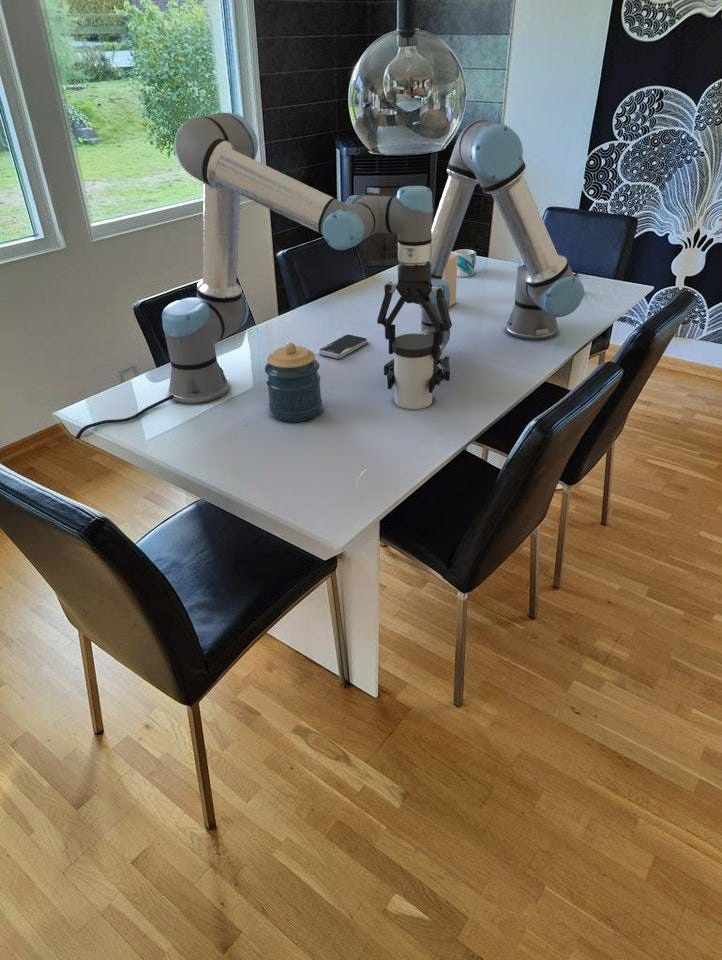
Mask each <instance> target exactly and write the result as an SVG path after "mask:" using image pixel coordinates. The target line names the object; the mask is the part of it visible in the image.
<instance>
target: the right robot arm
mask: <svg viewBox="0 0 722 960" xmlns="http://www.w3.org/2000/svg"><path fill="white" fill-rule="evenodd" d="M523 157H524V148H523V143H522V141H521V138H520V137H519V135H518V134H517V133H516V131H514V129H512V128H511V127H510V126H508V125H506V124H503V123H501V122H500V123H499V122H492V121H490V120H486V119H481V120H480V119H478V120H475V121H472V122H471V123H469V124H467V125H466V126H465V127H464V128H463V129H462V131H461V132H460V134H459V135H458V136H457V139H456V142H455V144H454V147H453V150H452V152H451V156H450V159H449V161H448V165H447V167H446V173H447V180H446V182H445V186H444V189H443V192H442V195H441V198H440V200H439V204H438V207H437V209H436V212H435V214H434V215H435V216H434V219H433V220H432V257H431V260H430V263H431V284H432V286H434V287H440V286H444V287H445V292H444V297H445V301H446V304H447V308H448V312H449V313H450V307H449V299H450V289H449V283H448V282H446V281H443V280H442V277H443V273H444V271H445V268H446V265H447V262H448V260H449V257H450V254H452V251H453V249H454V245H455V243H456V240H457V237H458V235H459V233H460V232H459V231H460V229H461V226H462V223H463V220H464V218H465V215H466V213H467V209H468V207H469V204H470V201H471V199H472V196H473V193H474V190H475V187H476V185H478V184H479V186H480V188H481V190H482V192H483V193H484V194H488V195H491V196H492V199H493V200H494V203H495V204H496V207H497V210H498V211H499V213H500V215H501V217H502V219H503V221H504V223H505V226H506V228H507V230H508V232H509V234H510V237H511V238H512V240H513V242H514V245H515V246H516V249H517V251H518V253H519V255H520V258H519V259H518V263H517V267H516V269H517V270H516V271H517V272H516V284H515V296H514V305H513V308H512V311H511V313H510V315H509V318H508V320H507V321H506V328H505V331H506V333H507V334H508V335H510V336H511V337H514V338H518V339H522V340H528V341H529V340H530V341H538V340H546V339H547V340H548V339H551V338H553V337H555V336H556V335H557V334H558V328H559V327H558V320H557V318H563V317H567V316H569V315H570V314H572V313H573V312H575V311H576V310H577V309H578V308H579V306H580V305H581V303H582V301H583V299H584V296H585V288H584V287H585V286H584V285H583V283H582V281H581V279H580V278H578V277H577V275H579V272H575V273H574V272H573V271H572V269H571V266H570V263H569V262H568V259H567V257H566V256H564V255H561V254H558V252H557V250H556V247H555V244H554V243H553V240H552V238H551V236H550V233H549V231H548V229H547V227H546V225H545V222H544V220H543V218H542V215H541V212H540V211H539V208H538V207H537V204H536V202H535V199H534V197H533V195H532V193H531V191H530V189H529V186H528V184H527V182H526V179H525V177H524V174H525V171H526V169H527V165H526V163H525V160H524V158H523ZM429 297H430V299H431V302H432V305H433V306H434V308H435V310H436V312H437V314H438V316H439V317H440V319H441V315H440V312H439V308H438V304H437V300H436V297H435V296H434V293H433V292H431V293H430V294H429ZM418 305H419V307H420V310H421V313H420V314H421V319H420V320H421V321H420V322H421V324H420V334H424V335H428V336H431V337H433V333H434V332H435V330H436V329H435V327H434V325H433V323H432V322H431V320H430V318H429V316H428V314H427V312H426V311H425V309H424V308H423V307H422V305H421V303H420V304H418ZM441 321H442V319H441ZM442 323H443V322H442ZM450 336H451V328H450V329H449V330H448V331H444V340H443V343H442V345H439V356H438V357H437V359H433V375H432V377H431V380H430V382H429V393H432V394H433V392H434V390H435V388H436V386H440V384H441V382H442V381H443V380H444V381H445V382H449V381H450V379H451V370H450V356H444V357H442V354H443V352H444V350H445V348H446V346H447V344H448V343H449V341H450V338H451V337H450ZM439 365H440V366H441V367H439ZM383 376H386V381H387V390H392V388H393V386H394V358H392V359H390V360H389V361H388V362H387V363H385V364H384V365H383Z"/></svg>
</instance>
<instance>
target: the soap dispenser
mask: <svg viewBox="0 0 722 960" xmlns="http://www.w3.org/2000/svg"><path fill="white" fill-rule="evenodd" d="M457 258H458V255H456V254H454V253H451V254H450V257H449V260H448V262H447V265H446V268H445V271H444V273H443V277H442V280H443V281H446V282H448V283H449V289H450V299H449V308H451V306H453V305H454V304H456V302H457V301H456V300H457V282H458V281H457V280H458V279H457V277H458V276H457Z"/></svg>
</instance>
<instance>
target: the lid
mask: <svg viewBox="0 0 722 960" xmlns="http://www.w3.org/2000/svg"><path fill="white" fill-rule="evenodd" d="M392 350H393V354H394V353H395V354H397V355H399V356H402V357H409V358H418V357H425V356H428V355H431V354H432V353H433V337H431V336H428V335H424V334H421V333H405V334H400V335H397V336H395V338H394V339H393V341H392Z"/></svg>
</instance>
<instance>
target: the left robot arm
mask: <svg viewBox="0 0 722 960" xmlns="http://www.w3.org/2000/svg"><path fill="white" fill-rule="evenodd" d="M257 137H258V136H257V134H256V132H255V130H254V128H253V126H252V125H251V124H250V122H249V121H248V120H247V119H246V118H245V117H244V116H242V115H241V114H238V113H236V112H222V111H220V112H217V113H213V114H209V115H208V114H207V115H203V116H196V117H192V118H189V119H187V120H185V121H184V122H183V123H182V124H181V125H180V126H179V127H178V129H177V132H176V134H175V137H174V143H173V144H174V153H175V156H176V159H177V161H178V163H179V164H180V166H181V168H182V169H183V170H184V171H185V172H187V174H189V175H190V176H191V177H193V178H194V179H196V180H198V181H200V182H201V183H203V231H202V233H203V236H202V237H203V240H202V241H203V245H202V279H201V280H200V281H199V282H198V283H197V284H196V297H184V298H182V299H180V300H179V299H178V300H175V301H172V302H171V303H169V304H168V305H167V306H166V307H164V308H163V311H162V313H161V320H162V330H163V331H164V337H165V343H166V345H167V352H168V357H169V361H170V367H171V369H170V370H171V371H170V377H169V386H168V393H169V396H167V397H164V398H163V399H161V400H159V401H157V402H155V403H153V404H151V405H148V406H146V407H144V408H143V409H141V410H140V411H139V412H137V413H135V414H134V415H132V416H128V417H124V418H118V419H117V418H116V419H115V418H113V419H103V420H100V421H96V422H93V423H89V424H87V425H84V426H83V427H81V428H80V429H79V431H78V432H77V434H76V436H75V440H77V439H80V438H81V436H82V435H83V434H84V432H85V431H87V430H88V429H90V428H94V427H98V426H101V425H105V424H114V423H116V424H117V423H126V422H130V421H132V420H135V419H137V418H138V417H140V416H142V415H144V414H145V413H146V412H148V411H150V410H152V409H154V408H156V407H158V406H160V405H162V404H164V403H167V402H168V401H170V400H173V401H175V402H177V403H180V404H188V405H189V404H190V405H196V404H197V405H198V404H204V403H208V402H212V401H214V400H217V399H219V398H221V397H223V396H224V395H225V394H227V392H228V391H229V383H228V379H227V378H226V375H225V372H224V370H223V368H222V366H220V363H219V362H218V358H217V352H216V346H215V345H216V344H217V343H219V342H220V341H222V340H224V339H226V338H227V337H229V336H230V335H233V334H235V333H236V332H237V331H239V330H240V329H241V328H242V327H243V326H244V324H245V323H246V322H247V320H248V317H249V312H250V307H249V303H248V300H247V299H246V297H245V294H244V293H243V288H242V286H241V285H240V284H239V283H238V282H237V281H238V280H237V279H238V261H239V260H238V259H239V257H238V256H239V238H240V237H239V236H240V235H239V234H240V214H241V212H240V211H241V196H243V197H244V198H246V199H249V200H251V201H252V202H254V203H257V204H259V205H261V206H263V207H265V208H267V209H269V210H271V211H273V212H275V213H277V214H279V215H282V216H284V217H286V218H288V219H290V220H291V221H294V222H296V223H298V224H299V225H302V226H305V227H306V228H308V229H311V230H312V231H314V232H316V233H319V234H321V235H322V236H323V239H324V241H325V242H326V243H327V244H328V246H329V247H331V248H332V249H334V250H338V251H345V250H348V249H351V248H354V247H356V246H358V245H359V244H360V243H361V242H363V241H364V240H366V239H368V238H370V237H371V236H372V235H374V234H376V233H381V234H383V233H384V234H396V235H397V260H398V263H397V282H396V283H394V282H392V281H388V282H387V283H386V284H385V285H384V296H383V300H382V302H381V306H380V309H379V313H378V317H377V320H376V323H377V324H378V325H382V326H384V338H385V340H388V355H393V354H394V352H393V350H392V341H393V339H394V338H396V324H393V322H394V321H395V320H396V317H397V316H398V314H399V312H400V311H401V309H402V308H403V306H404V305H405V303H406V304H415V305H419V304H420V303H421V305H422V307H423V308H424V309H425V311H426V312H427V314H428V316H429V318H430V320H431V322H432V323H433V325H434V327H435V329H436V330H435V332H434V333H433V359H437V357H438V356H439V345H442V343H443V340H444V331H448V330H449V329H450V330H451V328H452V327H453V323H452V320H451V319H452V318H451V316H450V315H451V314H450V311H449V312H448V308H447V304H446V301H445V297H444V292H445V287H444V286H440V287H434V286H432V284H431V263H430V260H431V257H432V224H433V214H434V208H433V192H432V190H431V188H429V187H427V186H425V185H405V186H401V187H399V188H398V189H397V194H396V195H395V196H388V195H387V196H386V195H369V194H368V195H367V194H364V193H363V194H361V195H360V194H359V195H357V194H356V195H350V196H349V197H347V199H346V201H345V202H343V201H341V200H338V199H336V198H335V197H333V196H331V195H329V194H326V193H324V192H322V191H320V190H318V189H317V188H314V187H312V186H310V185H307V184H306V183H303V182H301V181H300V180H297V179H295V178H293V177H291V176H289V175H287V174H284V173H282V172H280V171H279V170H277V169H274V168H272V167H270V166H268V165H266V164H264V163H262V162H260V161H257V160H255V159H256V157H257V154H258V151H259V144H258V143H259V142H258V138H257ZM396 291H397V292H398V294H399V295H400V297H399V299H398V300H397V302H396V303H395V305H394V307H393V309H392V310H391V312H390V314H389V315H388V312H389V308H390V305H391V301H392V298H393V294H394V293H395V292H396ZM431 292H433V293H434V296H435V297H436V300H437V304H438V308H439V312H440V315H441V319H442V321H441V319H440V317H439V316H438V314H437V312H436V310H435V308H434V306H433V305H432V302H431V299H430V297H429V294H430V293H431ZM387 315H388V318H387ZM442 322H443V323H442Z"/></svg>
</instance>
